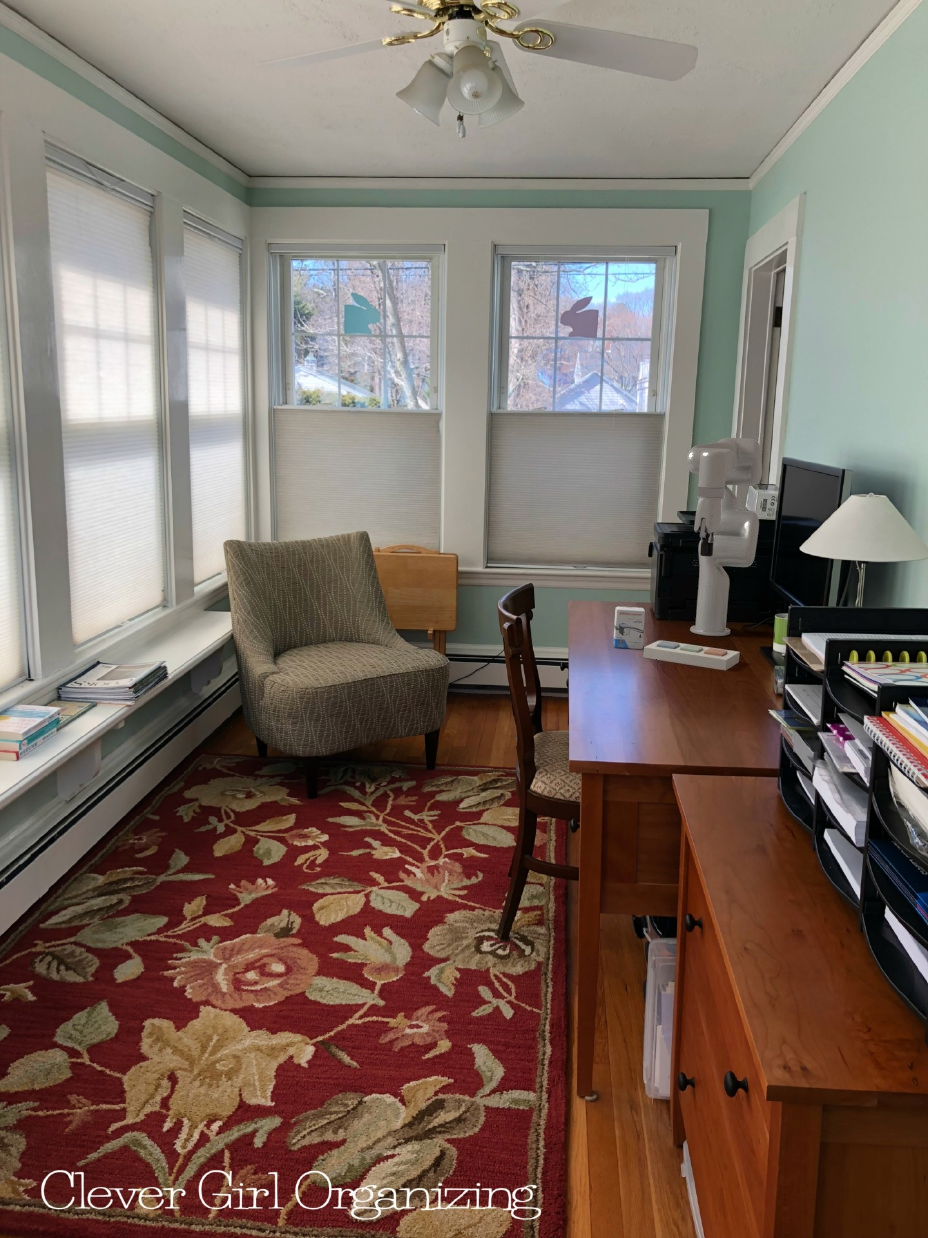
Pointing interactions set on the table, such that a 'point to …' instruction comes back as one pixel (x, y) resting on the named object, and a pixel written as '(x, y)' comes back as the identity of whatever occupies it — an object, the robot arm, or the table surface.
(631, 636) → the ink box
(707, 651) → the terracotta button
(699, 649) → the sage button
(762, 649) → the table surface
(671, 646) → the slate button
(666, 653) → the button panel
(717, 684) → the table surface
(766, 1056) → the table surface
